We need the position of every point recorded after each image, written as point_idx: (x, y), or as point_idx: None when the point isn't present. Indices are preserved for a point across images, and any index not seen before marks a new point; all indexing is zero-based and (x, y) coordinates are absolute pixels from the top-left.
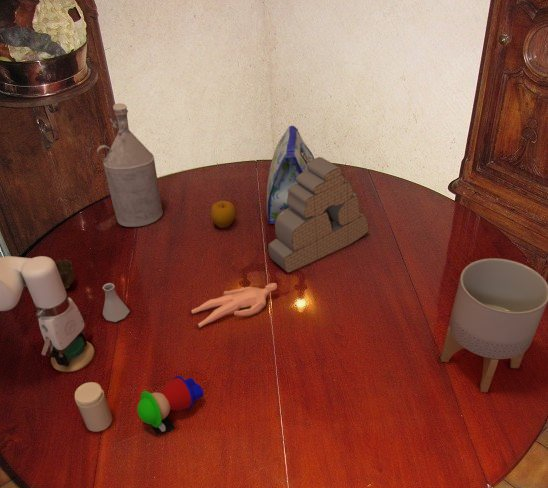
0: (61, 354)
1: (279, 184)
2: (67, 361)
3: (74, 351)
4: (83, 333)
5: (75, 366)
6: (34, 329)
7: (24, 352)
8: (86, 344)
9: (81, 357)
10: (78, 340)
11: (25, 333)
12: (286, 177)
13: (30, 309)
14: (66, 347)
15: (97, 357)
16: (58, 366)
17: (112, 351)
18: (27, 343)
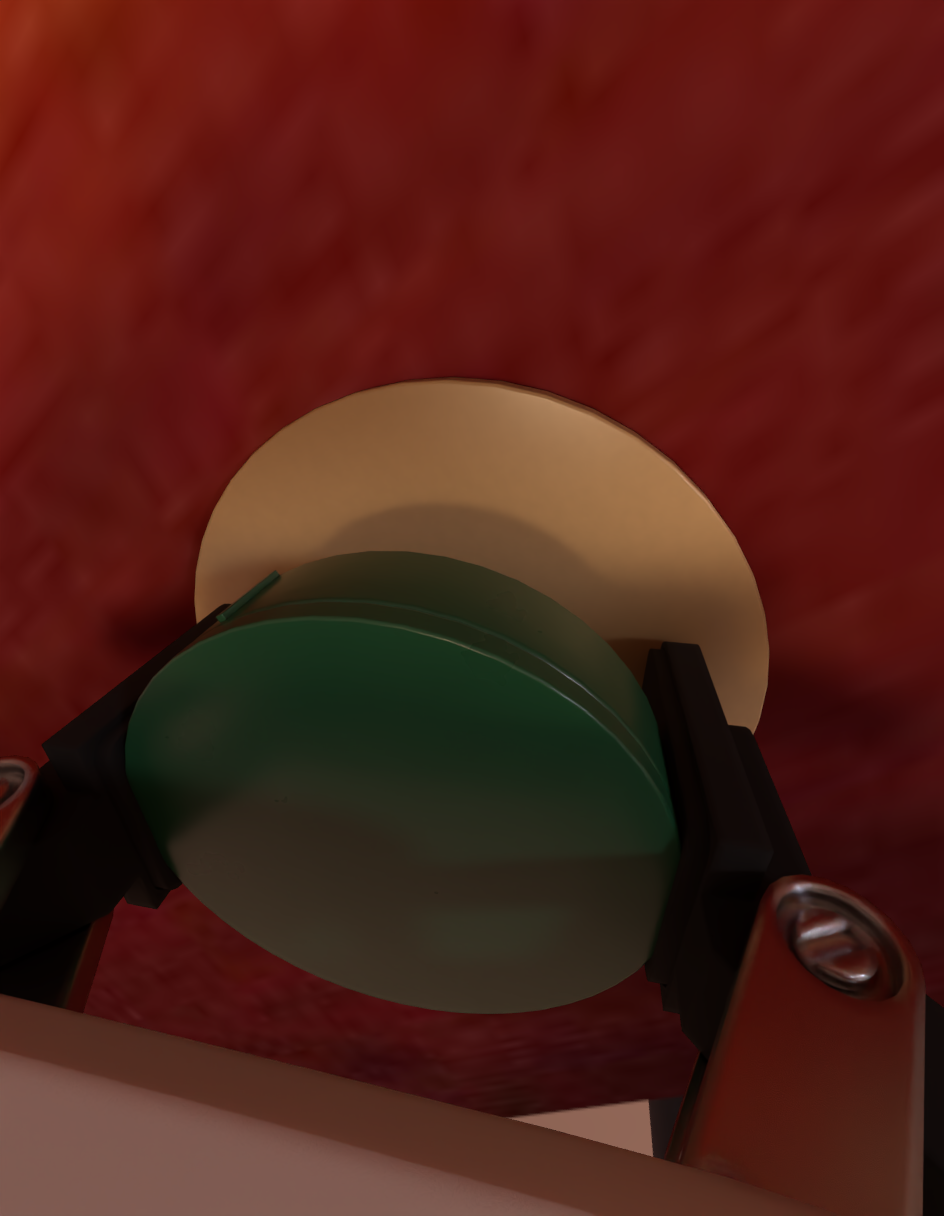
0: (779, 936)
1: None
2: (666, 691)
3: (508, 695)
4: (26, 762)
5: (641, 537)
6: (355, 1027)
7: (583, 1027)
8: None
9: (445, 555)
10: (212, 762)
11: (413, 1056)
12: None
13: None
14: (472, 875)
15: (325, 320)
16: None
17: (86, 125)
18: (489, 1031)
